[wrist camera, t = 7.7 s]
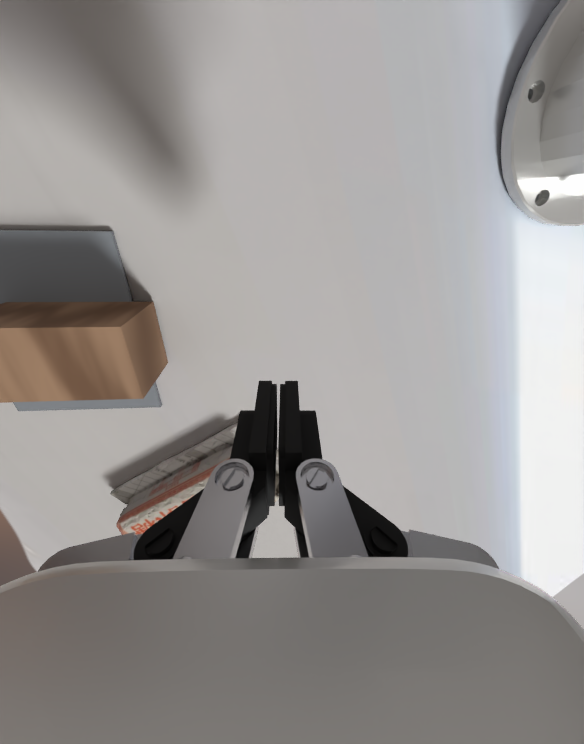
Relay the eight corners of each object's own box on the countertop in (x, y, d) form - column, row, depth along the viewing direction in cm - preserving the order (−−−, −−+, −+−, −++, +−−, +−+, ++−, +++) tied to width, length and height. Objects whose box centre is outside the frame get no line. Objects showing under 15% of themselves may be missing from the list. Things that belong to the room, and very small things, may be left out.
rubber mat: (113, 231, 18) (110, 231, 17) (161, 405, 25) (160, 407, 25) (-90, 228, 17) (-95, 229, 17) (21, 408, 24) (18, 411, 24)
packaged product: (165, 568, 31) (89, 527, 26) (178, 526, 35) (114, 484, 30) (304, 509, 27) (243, 449, 22) (299, 469, 31) (248, 412, 27)
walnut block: (120, 326, 16) (-71, 328, 15) (143, 398, 18) (-20, 403, 17) (153, 301, 20) (5, 302, 19) (167, 362, 22) (38, 364, 22)
